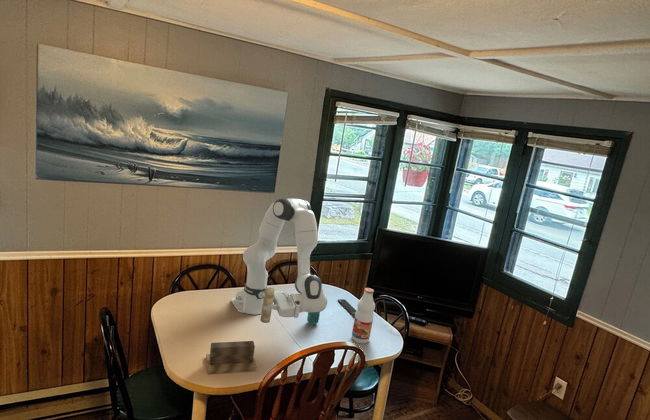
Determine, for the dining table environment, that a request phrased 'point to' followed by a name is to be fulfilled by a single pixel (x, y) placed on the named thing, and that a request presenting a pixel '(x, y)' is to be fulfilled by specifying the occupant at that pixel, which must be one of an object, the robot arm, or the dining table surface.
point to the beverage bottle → (313, 317)
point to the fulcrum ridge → (231, 357)
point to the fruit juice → (364, 317)
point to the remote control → (347, 307)
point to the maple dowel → (266, 300)
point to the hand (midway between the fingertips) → (265, 303)
